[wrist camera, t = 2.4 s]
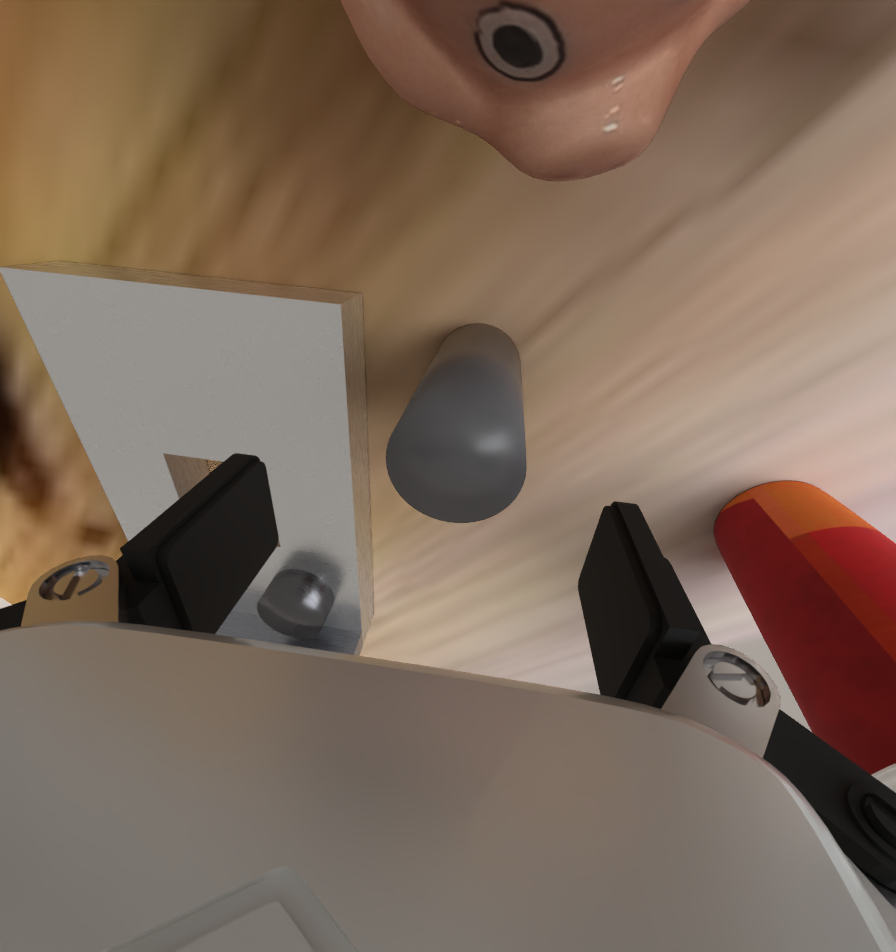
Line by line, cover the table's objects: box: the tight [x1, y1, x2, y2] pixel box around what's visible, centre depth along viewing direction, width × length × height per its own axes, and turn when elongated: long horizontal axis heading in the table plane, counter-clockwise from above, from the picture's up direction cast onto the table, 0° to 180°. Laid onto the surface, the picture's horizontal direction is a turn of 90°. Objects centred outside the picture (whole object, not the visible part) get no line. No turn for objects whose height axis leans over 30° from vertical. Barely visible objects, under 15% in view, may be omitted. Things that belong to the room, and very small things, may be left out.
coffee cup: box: [714, 481, 896, 793], centre depth 17 cm, size 8×8×15 cm
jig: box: [0, 261, 374, 656], centre depth 25 cm, size 24×16×5 cm, turn 176°
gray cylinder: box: [386, 323, 526, 523], centre depth 17 cm, size 4×4×10 cm
